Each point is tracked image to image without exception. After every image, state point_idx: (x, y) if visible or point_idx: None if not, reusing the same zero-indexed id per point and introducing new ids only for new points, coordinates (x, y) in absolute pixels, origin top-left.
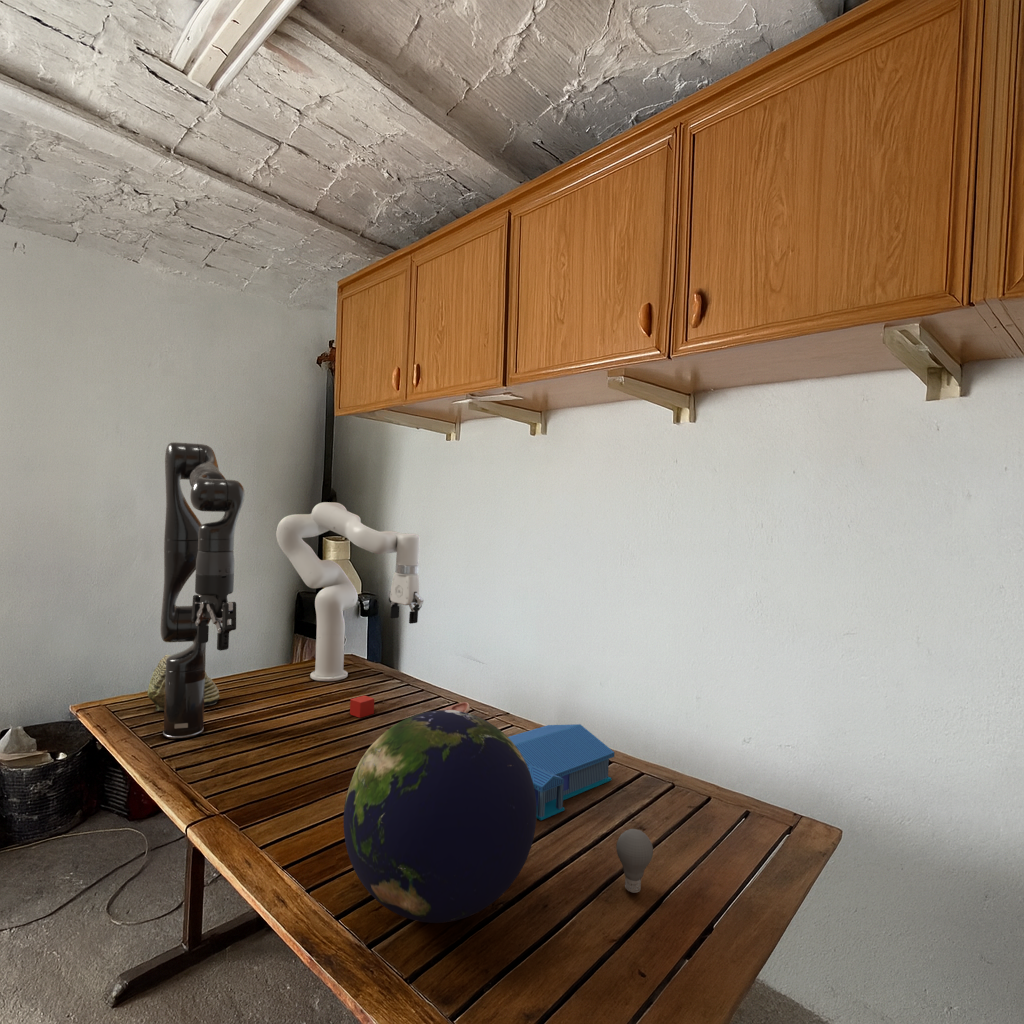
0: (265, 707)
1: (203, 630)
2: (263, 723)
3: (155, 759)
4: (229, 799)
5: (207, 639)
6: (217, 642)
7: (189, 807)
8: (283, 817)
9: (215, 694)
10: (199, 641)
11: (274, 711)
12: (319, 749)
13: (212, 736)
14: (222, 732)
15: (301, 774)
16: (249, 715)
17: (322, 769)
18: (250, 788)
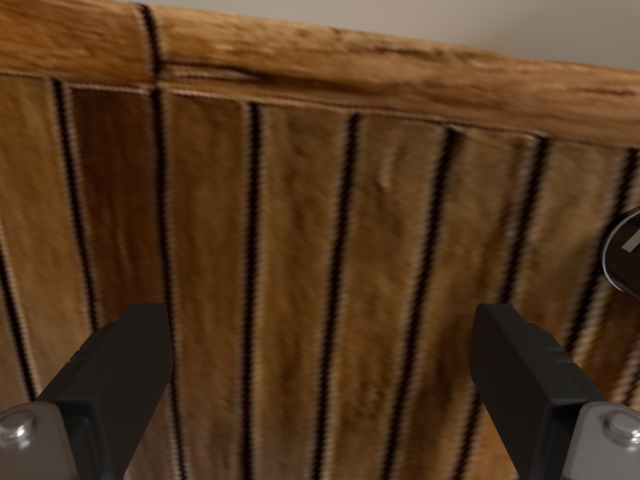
0: None
1: (518, 410)
2: None
3: (554, 123)
4: (208, 137)
5: (476, 379)
6: (133, 334)
7: (231, 52)
8: (53, 171)
9: None
10: (483, 315)
11: None
12: (305, 389)
13: (565, 283)
14: (566, 310)
15: (217, 301)
16: None
17: (209, 340)
18: (228, 196)
